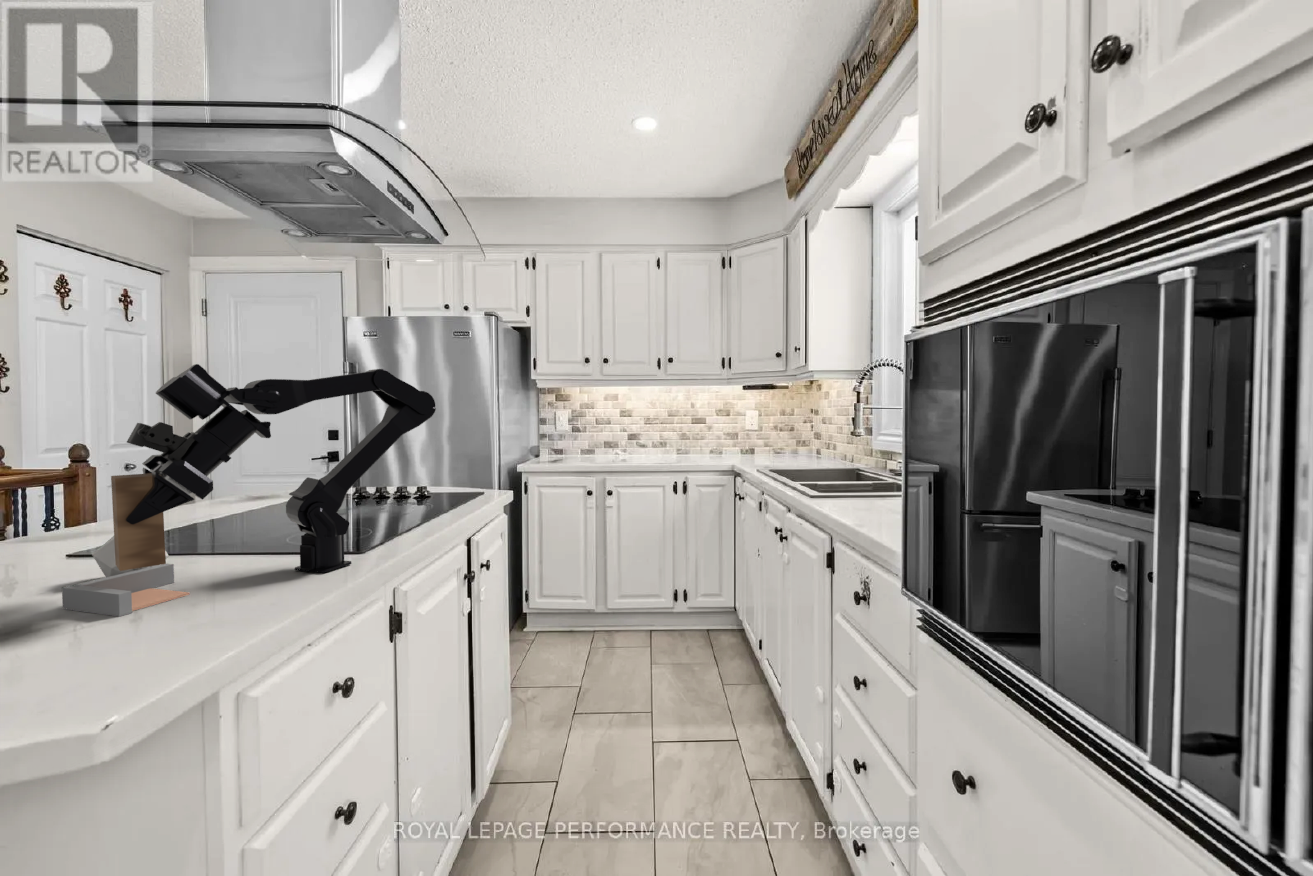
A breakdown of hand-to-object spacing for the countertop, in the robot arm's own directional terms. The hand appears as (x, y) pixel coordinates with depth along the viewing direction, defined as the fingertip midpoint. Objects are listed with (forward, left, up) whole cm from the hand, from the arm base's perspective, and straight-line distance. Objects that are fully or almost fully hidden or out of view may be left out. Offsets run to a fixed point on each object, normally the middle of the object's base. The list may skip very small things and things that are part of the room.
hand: (126, 520), depth 85 cm
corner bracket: (-2, 0, -12) cm, 12 cm away
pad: (-1, +1, -12) cm, 12 cm away
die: (-9, -13, -12) cm, 20 cm away
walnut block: (-1, +1, -7) cm, 7 cm away
